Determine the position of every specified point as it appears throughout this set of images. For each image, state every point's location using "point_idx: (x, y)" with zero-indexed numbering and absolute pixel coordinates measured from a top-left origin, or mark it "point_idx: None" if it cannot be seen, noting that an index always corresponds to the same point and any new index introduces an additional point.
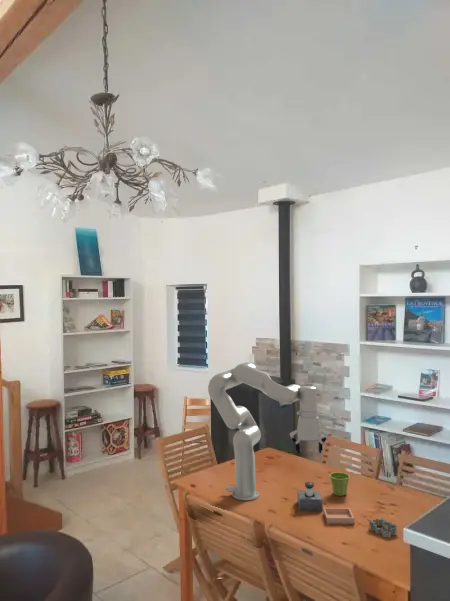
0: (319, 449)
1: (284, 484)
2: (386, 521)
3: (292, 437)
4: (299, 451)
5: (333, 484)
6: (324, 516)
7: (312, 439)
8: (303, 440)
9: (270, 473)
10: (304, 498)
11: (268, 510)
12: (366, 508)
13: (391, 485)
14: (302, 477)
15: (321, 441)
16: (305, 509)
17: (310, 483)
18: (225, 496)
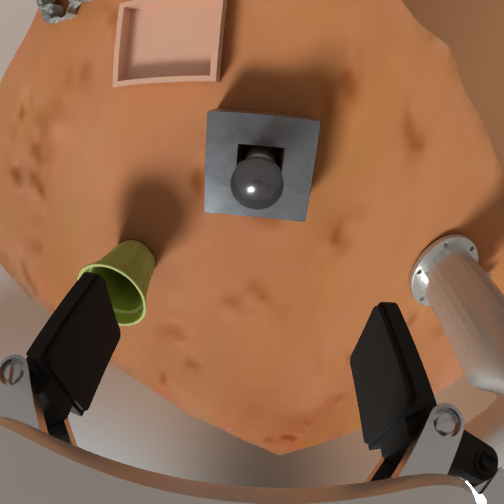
0: (85, 309)
1: (303, 337)
2: (42, 11)
3: (492, 480)
4: (382, 315)
5: (142, 270)
6: (221, 54)
7: (109, 489)
8: (375, 482)
9: (317, 390)
10: (294, 128)
11: (423, 144)
12: (69, 138)
13: (30, 290)
14: (237, 368)
15: (5, 389)
16: (289, 114)
17: (250, 184)
18: (484, 269)
